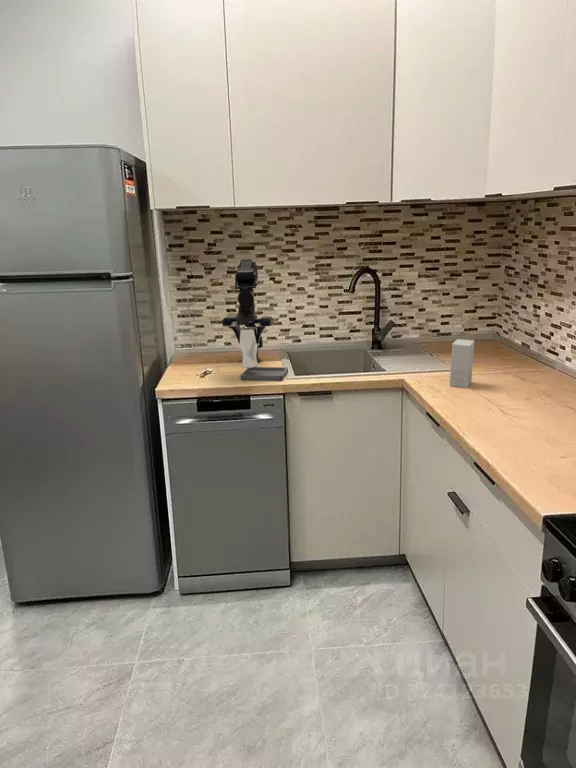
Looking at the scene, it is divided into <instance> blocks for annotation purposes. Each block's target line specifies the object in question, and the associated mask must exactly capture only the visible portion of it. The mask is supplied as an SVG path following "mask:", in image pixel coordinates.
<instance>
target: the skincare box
mask: <svg viewBox="0 0 576 768" xmlns="http://www.w3.org/2000/svg"><path fill="white" fill-rule="evenodd" d="M474 349H475V340H473V339H459V338H457V339H456V340H454V342H453V343H451V359H450V372H449V373H450V374H449V375H450V377H449V387H450V388H451V387H452V388H461V389H462V388H463V389H468V388H469V387H470V385H471V384H472V382H473V381H472V380H473V367H474V366H473V364H474V351H475V350H474Z"/></svg>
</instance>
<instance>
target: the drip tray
mask: <svg viewBox="0 0 576 768" xmlns="http://www.w3.org/2000/svg"><path fill="white" fill-rule="evenodd" d="M288 374H289V366H288V367H283V366H281V367H279V366H278V367H276V366H271V367H270V366H257V367H255V368H245V370H244V371H243V372H242V373H241V374H240V381H252V382H253V381H255V382H256V381H257V382H258V381H261V382H283V381H284V380H285V378H286V376H287V375H288Z"/></svg>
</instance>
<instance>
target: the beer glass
mask: <svg viewBox="0 0 576 768" xmlns="http://www.w3.org/2000/svg"><path fill="white" fill-rule="evenodd" d="M256 327H257V326H256ZM256 327H244V326H243V327H240V332H239V340H240V344H239V347H240V351H241V355H242V361H241V362H242V363H241V367H242V368H244V369H247V368H255V367H259V366H258V365H259V364H258V363H257V360H256V353H257V328H256Z"/></svg>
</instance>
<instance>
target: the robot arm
mask: <svg viewBox="0 0 576 768" xmlns="http://www.w3.org/2000/svg"><path fill="white" fill-rule="evenodd" d="M239 262H240V263H239V264H238V265H237V267H236V272H235V273H234V280H235V281H234V285H235V286H234V289H236V290H238V294H237V295H238V296H237V302H238V305H239V306H238V312H237V313H236V315H235V316H230V315H229V316H226V317H224V318H223V319H222V321H221V322H222V326H223V327H228V328H229V329H231V330H232V331H233V333H234V335H235V337H236V340H237V342H238V344H239V345H240V340H239V332H240V328H241V326H243V327H256V328H257V353H256V360H257V364H258V363H259V362H260V361H261V360H262V359H261V358H259V349H261V348H263V337H262V333H263V331H264V329H265V328H266V327H270V326H272V325H273V324H274V317H273V316H262V317H260V318H256V310H255V308H256V304H255V290H254V289H256V288H257V286H258V283H259V282H258V279H259V271H258V269H259V268H258V265H257V264H255V263H254V259H251V258H243V259H241V260H240V261H239ZM256 324H257V325H256Z"/></svg>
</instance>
